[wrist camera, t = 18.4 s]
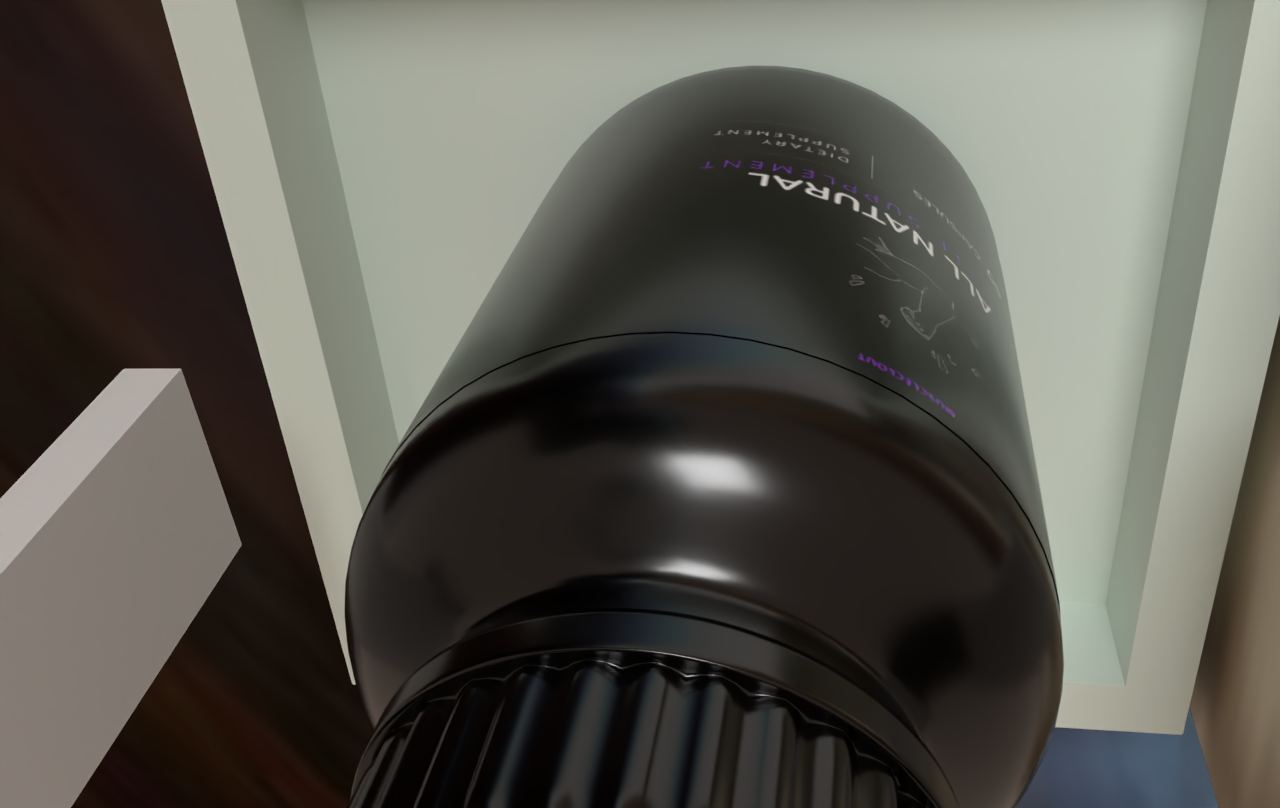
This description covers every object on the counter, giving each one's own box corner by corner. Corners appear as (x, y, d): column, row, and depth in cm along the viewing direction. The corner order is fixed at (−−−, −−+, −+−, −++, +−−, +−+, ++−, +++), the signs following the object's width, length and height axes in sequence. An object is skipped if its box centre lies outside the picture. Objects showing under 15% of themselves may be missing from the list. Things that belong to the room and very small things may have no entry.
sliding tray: (207, -199, 17) (113, -172, 14) (1332, -277, 14) (1411, -257, 12) (396, 591, 24) (352, 684, 22) (1152, 626, 22) (1183, 735, 20)
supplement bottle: (1000, 24, 16) (1222, 721, 6) (991, 455, 20) (1121, 1336, 10) (495, 69, 17) (-2, 696, 7) (573, 463, 21) (310, 1243, 11)
